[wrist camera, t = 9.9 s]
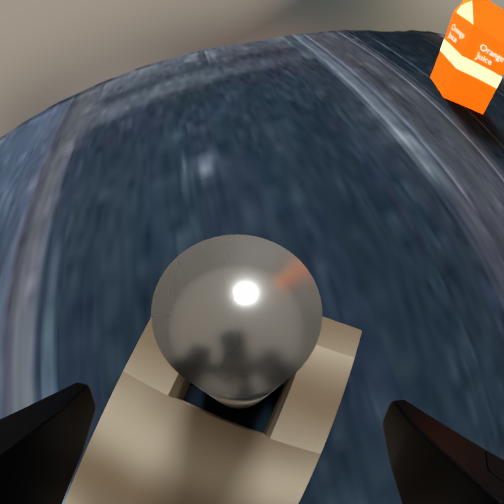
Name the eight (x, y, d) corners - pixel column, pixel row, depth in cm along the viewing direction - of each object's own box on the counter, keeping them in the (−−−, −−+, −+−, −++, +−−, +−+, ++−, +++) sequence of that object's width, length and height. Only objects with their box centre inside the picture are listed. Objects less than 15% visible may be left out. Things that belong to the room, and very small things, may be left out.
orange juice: (429, 76, 41) (460, -15, 23) (467, 92, 40) (501, 9, 23) (443, 98, 37) (482, -4, 19) (483, 115, 36) (525, 24, 19)
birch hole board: (229, 586, 9) (227, 617, 6) (83, 519, 11) (52, 534, 8) (339, 348, 18) (362, 330, 15) (191, 291, 20) (181, 262, 16)
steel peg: (255, 417, 16) (287, 421, 5) (199, 394, 16) (122, 347, 6) (277, 364, 17) (340, 266, 7) (223, 343, 18) (198, 215, 7)
